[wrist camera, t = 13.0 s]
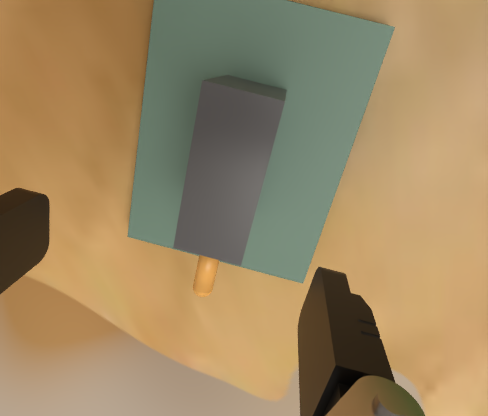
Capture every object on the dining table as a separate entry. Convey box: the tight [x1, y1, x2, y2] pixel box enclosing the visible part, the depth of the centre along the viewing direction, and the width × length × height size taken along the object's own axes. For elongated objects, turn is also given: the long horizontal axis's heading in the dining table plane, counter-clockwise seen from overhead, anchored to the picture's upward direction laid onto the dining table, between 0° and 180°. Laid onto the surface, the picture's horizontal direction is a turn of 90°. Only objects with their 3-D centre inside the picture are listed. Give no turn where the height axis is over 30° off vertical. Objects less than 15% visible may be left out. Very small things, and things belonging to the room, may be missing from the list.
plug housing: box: [173, 75, 287, 297], centre depth 21 cm, size 12×4×7 cm, turn 167°
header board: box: [128, 0, 395, 283], centre depth 23 cm, size 18×14×6 cm
